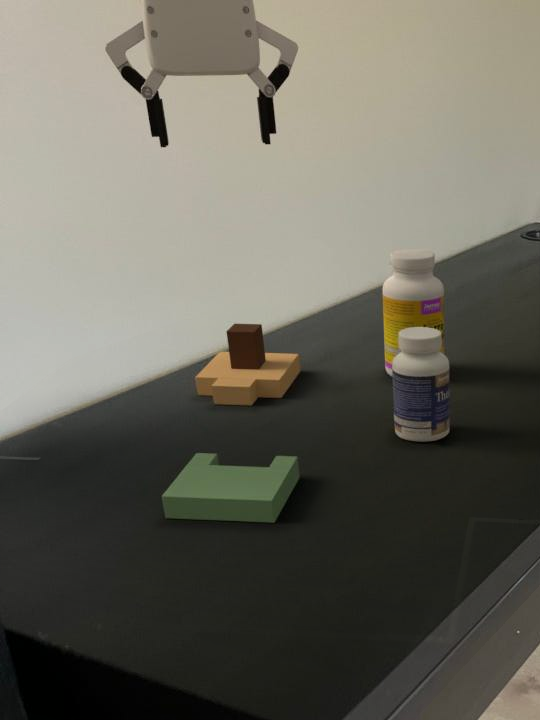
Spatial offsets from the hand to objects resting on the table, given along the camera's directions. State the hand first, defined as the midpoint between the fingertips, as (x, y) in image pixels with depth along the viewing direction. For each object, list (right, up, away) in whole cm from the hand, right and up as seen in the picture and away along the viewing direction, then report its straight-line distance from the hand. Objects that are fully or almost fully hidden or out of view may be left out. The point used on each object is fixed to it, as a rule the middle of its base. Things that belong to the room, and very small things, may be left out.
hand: (216, 144), depth 96 cm
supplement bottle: (+18, -18, +16) cm, 30 cm away
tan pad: (0, -21, +11) cm, 24 cm away
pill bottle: (+20, -28, 0) cm, 35 cm away
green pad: (+5, -36, -12) cm, 38 cm away
